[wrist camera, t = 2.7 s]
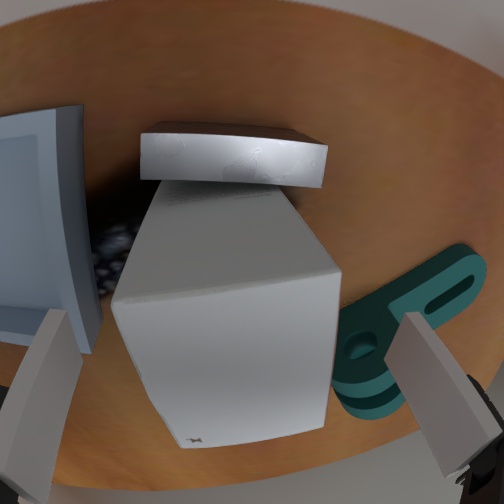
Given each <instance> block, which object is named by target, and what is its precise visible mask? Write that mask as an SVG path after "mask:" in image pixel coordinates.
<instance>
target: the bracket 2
mask: <svg viewBox="0 0 504 504" xmlns="http://www.w3.org/2000/svg"><path fill="white" fill-rule="evenodd" d="M486 271H487V268H486V263H485V260H484V259H483V258H482V257H481V256H480V255H479V254H477V253H476V252H475V251H474V250H472V249H471V248H470V247H468V246H467V245H464V244H456V245H453V246H451V247H449V248H447V249H446V250H444V251H442V252H441V253H439V254H438V255H436V256H434V257H433V258H431V259H429V260H428V261H426V262H425V263H423V264H421V265H420V266H418V267H416V268H415V269H413V270H411V271H409V272H408V273H406V274H404V275H403V276H401V277H399V278H397V279H396V280H394V281H392V282H390V283H389V284H387V285H385V286H383V287H382V288H380V289H378V290H376V291H374V292H373V293H371V294H369V295H367V296H365V297H363V298H362V299H360V300H358V301H356V302H354V303H352V304H350V305H348V306H347V307H345V308H343V309H341V310H339V321H338V332H337V342H336V351H335V358H334V367H333V373H332V382H331V386H332V387H333V389H334V391H335V394H336V396H337V397H338V399H339V401H340V402H341V404H342V406H343V407H344V409H345V410H346V411H347V412H348V413H349V414H351V415H352V416H354V417H356V418H359V419H364V420H375V419H380V418H383V417H386V416H388V415H390V414H392V413H393V412H395V411H396V410H397V409H398V408H400V407H401V406H402V404H403V403H404V402H405V398H404V396H403V394H402V392H401V390H400V388H399V387H398V385H397V383H396V381H395V379H394V377H393V376H392V374H391V372H390V370H389V368H388V366H387V365H386V363H385V361H384V358H385V356H386V354H387V352H388V349H389V347H390V345H391V343H392V341H393V339H394V337H395V334H396V332H397V330H398V328H399V326H400V323H401V321H402V319H403V316H404V314H405V313H406V312H420V314H421V315H422V316H423V318H424V319H425V320H426V321H427V323H428V324H429V325H430V327H431V328H432V329H433V330H434V329H436V328H438V327H439V326H441V325H442V324H444V323H445V322H447V321H448V320H450V319H451V318H453V317H454V316H456V315H457V314H459V313H460V312H462V311H463V310H464V309H466V308H467V307H468V306H469V305H470V304H471V303H472V302H473V301H474V299H475V298H476V297H477V295H478V294H479V292H480V290H481V288H482V286H483V284H484V281H485V278H486Z"/></svg>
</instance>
